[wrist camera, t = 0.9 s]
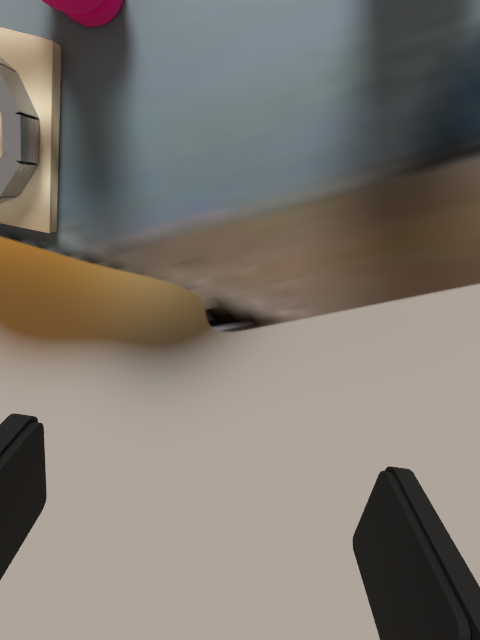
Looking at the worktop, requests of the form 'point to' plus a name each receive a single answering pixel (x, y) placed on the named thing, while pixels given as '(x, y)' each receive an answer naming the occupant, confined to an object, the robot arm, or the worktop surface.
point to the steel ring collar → (16, 134)
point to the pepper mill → (88, 10)
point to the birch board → (44, 91)
